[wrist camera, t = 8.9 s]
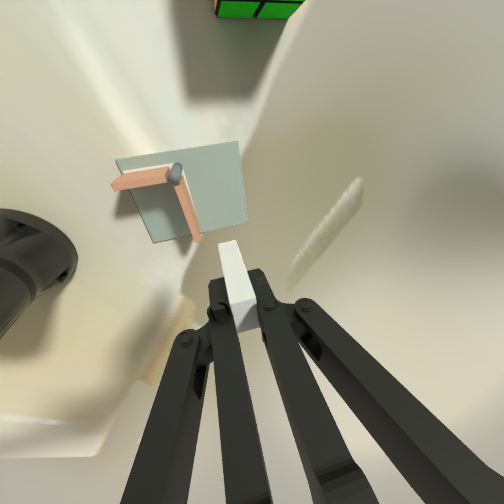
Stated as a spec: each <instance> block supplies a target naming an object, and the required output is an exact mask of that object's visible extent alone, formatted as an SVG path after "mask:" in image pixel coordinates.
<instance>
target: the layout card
mask: <svg viewBox="0 0 504 504" xmlns="http://www.w3.org/2000/svg"><path fill="white" fill-rule="evenodd" d="M116 162H117V164H118V166H119V168H120V170H121V173H122V174H124V173H130V172H136V171H142V170H149V169H155V168H161V167H167V166H169V168H170V170H171V168H172V166H173V164H174V163H180V164H181V165H182V167H183V170H182V175H183V176H184V179H185V182H186V185H187V188H188V191H189V194H190V197H191V200H192V203H193V206H194V209H195V213H196V216H197V219H198V222H199V225H200V233H203V232H207V231H212V230H217V229H222V228H226V227H232V226H237V225H241V224H246V223H248V215H247V207H246V200H245V192H244V185H243V177H242V169H241V162H240V154H239V146H238V141H233V142H227V143H220V144H214V145H207V146H200V147H194V148H187V149H181V150H174V151H167V152H161V153H154V154H148V155H141V156H135V157H128V158H121V159H116ZM182 175H181V176H182ZM174 185H175V184H173V183H171V182H170V181H169V179H168V181H167V182H166V183H160V184H154V185H148V186H142V187H137V188H131V189H129V190H130V192H131V194H132V196H133V199H134V201H135V203H136V205H137V207H138V209H139V212H140V214H141V216H142V218H143V220H144V223H145V225H146V227H147V229H148V231H149V233H150V236H151V238H152V240H153V242H159V241H164V240H169V239H174V238H179V237H183V236H188V235H192V234H191V231H190V228H189V225H188V223H187V220H186V217H185V215H184V212H183V209H182V206H181V204H180V201H179V198H178V196H177V193H176V190H175V188H174Z"/></svg>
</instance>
